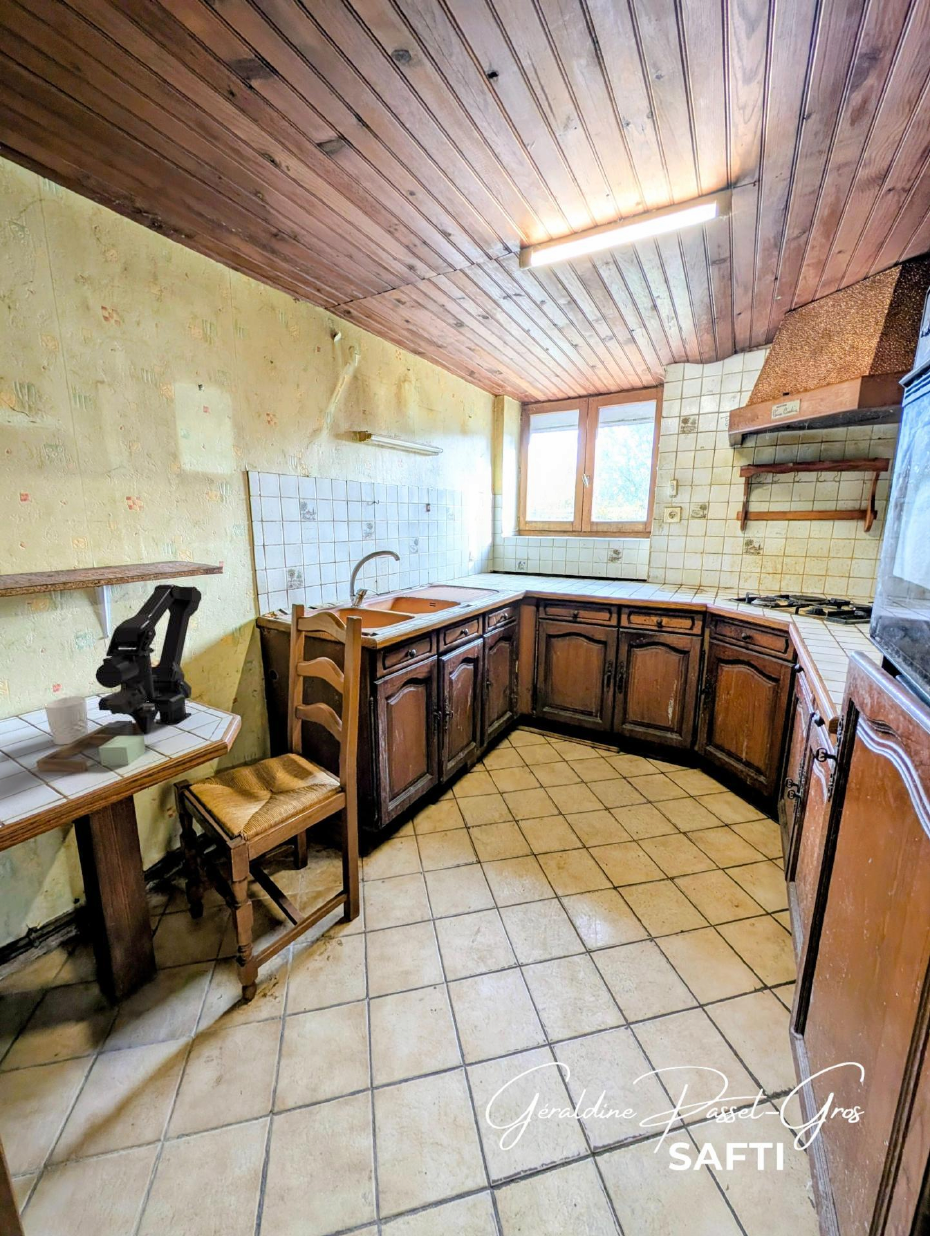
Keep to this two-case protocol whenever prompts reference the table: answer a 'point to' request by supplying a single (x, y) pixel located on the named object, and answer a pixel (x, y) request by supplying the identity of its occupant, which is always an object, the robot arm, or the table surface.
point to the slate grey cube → (119, 728)
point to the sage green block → (122, 750)
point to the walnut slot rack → (76, 751)
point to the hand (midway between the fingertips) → (146, 734)
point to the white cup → (67, 719)
